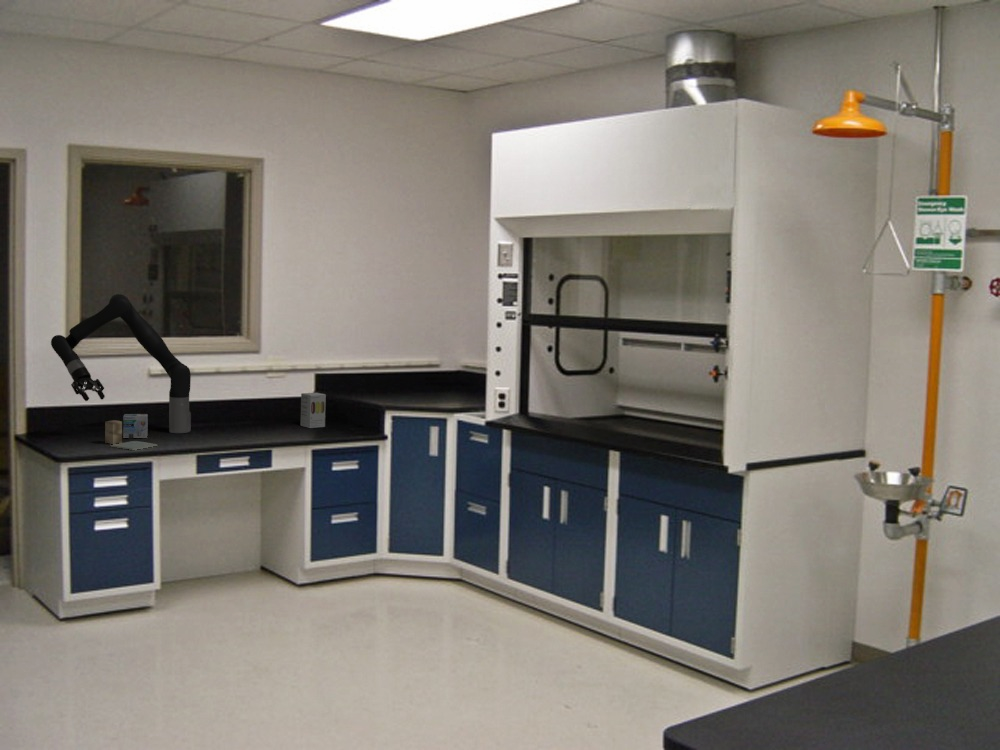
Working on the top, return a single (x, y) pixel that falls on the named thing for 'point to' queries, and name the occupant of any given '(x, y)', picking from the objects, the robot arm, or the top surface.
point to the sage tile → (133, 445)
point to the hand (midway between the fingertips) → (95, 399)
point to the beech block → (113, 432)
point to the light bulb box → (135, 425)
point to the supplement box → (313, 410)
